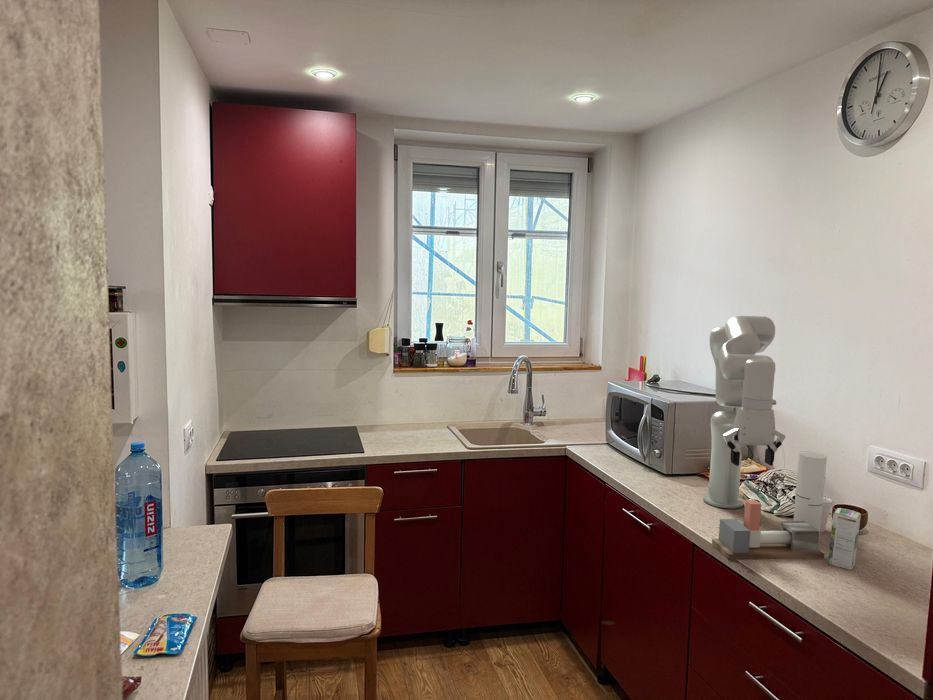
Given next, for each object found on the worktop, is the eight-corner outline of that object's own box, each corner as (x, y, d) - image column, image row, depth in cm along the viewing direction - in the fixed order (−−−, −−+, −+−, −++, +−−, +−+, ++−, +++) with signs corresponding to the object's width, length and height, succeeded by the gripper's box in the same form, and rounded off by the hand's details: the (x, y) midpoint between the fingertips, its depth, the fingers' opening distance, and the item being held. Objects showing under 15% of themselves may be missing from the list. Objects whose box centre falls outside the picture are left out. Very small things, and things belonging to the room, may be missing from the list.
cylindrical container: (795, 529, 192) (802, 449, 189) (821, 535, 187) (829, 454, 184) (789, 536, 186) (796, 454, 183) (816, 543, 182) (824, 459, 179)
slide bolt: (732, 540, 177) (735, 499, 176) (786, 540, 178) (790, 499, 177) (740, 547, 173) (743, 505, 171) (796, 547, 174) (799, 505, 172)
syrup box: (831, 557, 173) (836, 506, 171) (856, 563, 169) (861, 512, 167) (827, 564, 169) (832, 512, 167) (852, 571, 165) (858, 518, 163)
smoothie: (826, 526, 194) (830, 483, 193) (832, 534, 188) (836, 489, 187) (803, 524, 196) (807, 480, 194) (809, 532, 190) (813, 487, 188)
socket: (718, 540, 179) (720, 518, 178) (733, 539, 179) (735, 518, 179) (732, 553, 171) (734, 530, 170) (748, 552, 171) (750, 530, 170)
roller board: (711, 543, 180) (713, 519, 179) (802, 543, 182) (804, 519, 181) (728, 559, 170) (730, 533, 169) (824, 559, 172) (826, 533, 171)
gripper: (779, 401, 176) (774, 460, 179) (719, 401, 175) (715, 460, 177) (795, 407, 169) (789, 468, 171) (732, 407, 168) (728, 468, 170)
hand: (751, 464), depth 174 cm, fingers open, 9 cm apart
